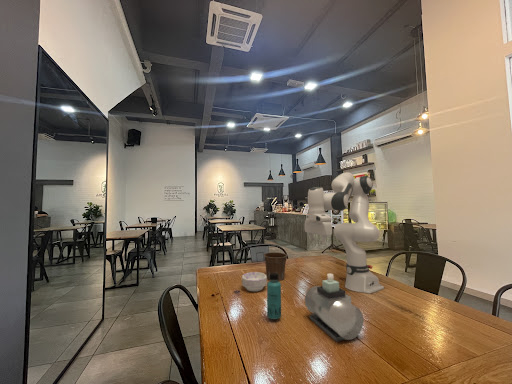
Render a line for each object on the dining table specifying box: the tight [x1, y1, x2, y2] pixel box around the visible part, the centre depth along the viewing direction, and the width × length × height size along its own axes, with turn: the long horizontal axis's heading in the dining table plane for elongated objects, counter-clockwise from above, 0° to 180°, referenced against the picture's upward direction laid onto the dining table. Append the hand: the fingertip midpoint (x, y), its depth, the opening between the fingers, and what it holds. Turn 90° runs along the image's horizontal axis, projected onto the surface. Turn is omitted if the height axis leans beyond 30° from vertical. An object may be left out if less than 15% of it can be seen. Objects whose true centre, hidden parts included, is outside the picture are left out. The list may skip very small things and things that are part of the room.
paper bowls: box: [241, 271, 268, 292], centre depth 135 cm, size 15×15×8 cm
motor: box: [304, 285, 364, 343], centre depth 94 cm, size 12×26×16 cm, turn 19°
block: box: [321, 272, 340, 293], centre depth 93 cm, size 5×4×8 cm
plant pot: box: [263, 251, 288, 282], centre depth 154 cm, size 16×16×16 cm
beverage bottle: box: [266, 273, 282, 320], centre depth 99 cm, size 6×7×20 cm
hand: (317, 242), depth 119 cm, fingers open, 8 cm apart
